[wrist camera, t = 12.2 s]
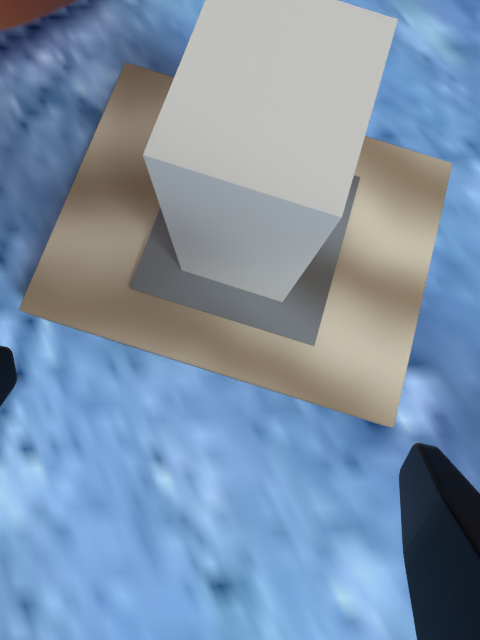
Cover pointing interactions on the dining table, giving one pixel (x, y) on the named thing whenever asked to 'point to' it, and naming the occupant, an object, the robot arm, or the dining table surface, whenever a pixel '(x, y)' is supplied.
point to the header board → (236, 304)
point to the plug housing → (265, 135)
